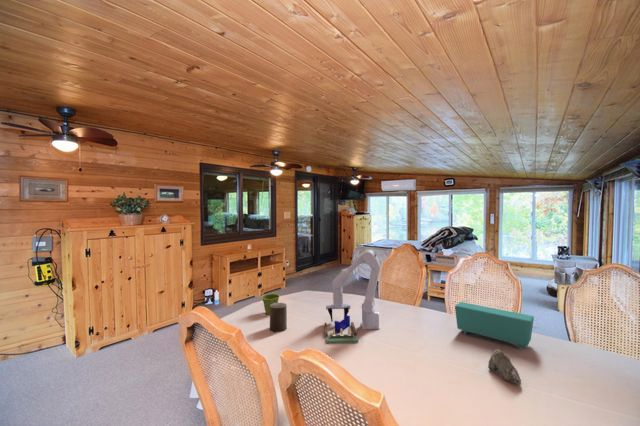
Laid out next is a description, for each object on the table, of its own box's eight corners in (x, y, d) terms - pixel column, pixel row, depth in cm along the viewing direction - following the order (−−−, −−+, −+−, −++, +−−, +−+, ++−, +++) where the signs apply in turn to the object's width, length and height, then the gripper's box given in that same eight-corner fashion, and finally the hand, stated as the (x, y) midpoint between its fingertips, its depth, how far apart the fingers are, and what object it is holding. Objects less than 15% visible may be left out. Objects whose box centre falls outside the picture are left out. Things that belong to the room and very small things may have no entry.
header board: (356, 337, 156) (356, 328, 156) (358, 342, 150) (358, 333, 150) (326, 338, 155) (326, 328, 155) (326, 343, 149) (326, 333, 149)
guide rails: (353, 325, 172) (353, 322, 172) (356, 336, 157) (356, 333, 157) (324, 326, 171) (324, 322, 171) (325, 337, 156) (325, 333, 156)
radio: (534, 345, 144) (534, 315, 144) (531, 353, 137) (530, 321, 136) (460, 327, 167) (460, 300, 167) (454, 332, 160) (454, 305, 159)
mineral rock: (522, 390, 109) (522, 363, 109) (489, 382, 115) (488, 357, 114) (517, 372, 121) (517, 348, 121) (487, 366, 126) (487, 343, 126)
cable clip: (343, 324, 174) (343, 314, 174) (350, 326, 171) (349, 315, 171) (332, 331, 164) (332, 321, 164) (339, 333, 161) (339, 322, 161)
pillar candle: (275, 333, 162) (275, 306, 162) (266, 328, 169) (266, 302, 169) (290, 329, 168) (290, 303, 168) (280, 324, 176) (280, 299, 175)
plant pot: (259, 311, 196) (259, 295, 196) (277, 309, 201) (276, 292, 201) (264, 317, 186) (264, 300, 185) (282, 314, 191) (282, 297, 190)
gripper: (349, 296, 179) (349, 318, 179) (325, 296, 179) (325, 318, 179) (350, 299, 172) (351, 322, 172) (326, 300, 172) (326, 323, 172)
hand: (338, 320), depth 175 cm, fingers open, 7 cm apart
